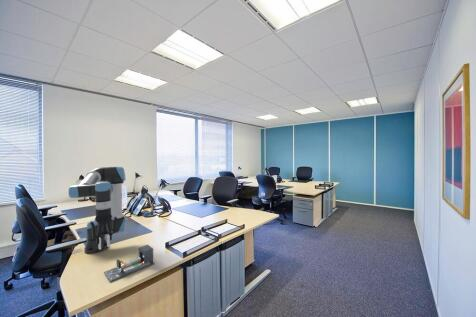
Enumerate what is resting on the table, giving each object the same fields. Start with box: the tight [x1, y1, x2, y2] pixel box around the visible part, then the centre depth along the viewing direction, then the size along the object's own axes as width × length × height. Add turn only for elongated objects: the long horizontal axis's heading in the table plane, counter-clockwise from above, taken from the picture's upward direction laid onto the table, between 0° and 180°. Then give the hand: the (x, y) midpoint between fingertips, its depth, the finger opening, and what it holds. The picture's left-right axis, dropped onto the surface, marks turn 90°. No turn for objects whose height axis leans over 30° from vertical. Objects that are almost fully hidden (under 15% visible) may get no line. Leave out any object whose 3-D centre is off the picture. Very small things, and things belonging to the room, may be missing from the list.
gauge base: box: [103, 244, 156, 283], centre depth 128 cm, size 13×26×10 cm, turn 137°
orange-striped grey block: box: [115, 257, 141, 271], centre depth 127 cm, size 9×13×6 cm
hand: (104, 247), depth 117 cm, fingers open, 4 cm apart
